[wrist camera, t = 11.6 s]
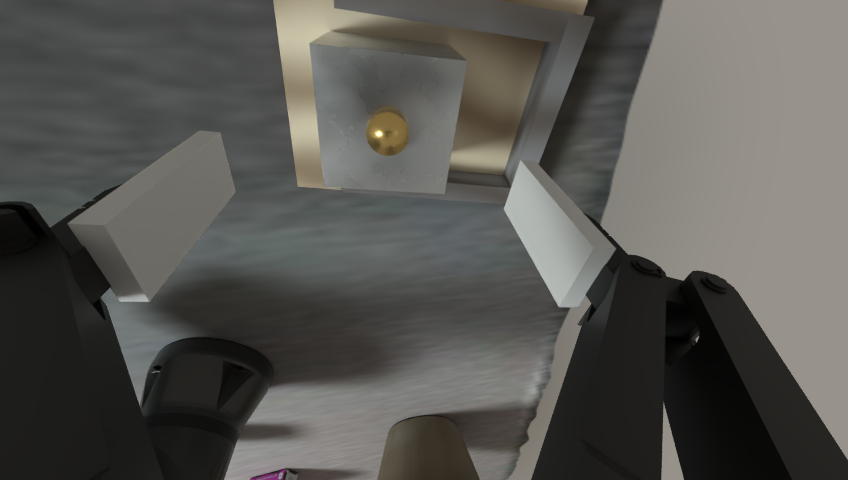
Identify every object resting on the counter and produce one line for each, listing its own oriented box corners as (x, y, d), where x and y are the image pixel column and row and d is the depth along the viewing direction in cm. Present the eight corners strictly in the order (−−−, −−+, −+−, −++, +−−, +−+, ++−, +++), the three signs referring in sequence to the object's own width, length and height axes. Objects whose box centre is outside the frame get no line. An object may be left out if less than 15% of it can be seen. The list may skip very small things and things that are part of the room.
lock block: (434, 155, 26) (445, 200, 21) (337, 148, 25) (321, 193, 20) (449, 44, 21) (470, 63, 16) (330, 30, 20) (305, 44, 15)
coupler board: (510, 196, 31) (522, 217, 28) (300, 179, 28) (290, 200, 25) (582, -7, 21) (610, -7, 18) (270, -65, 18) (248, -75, 15)
